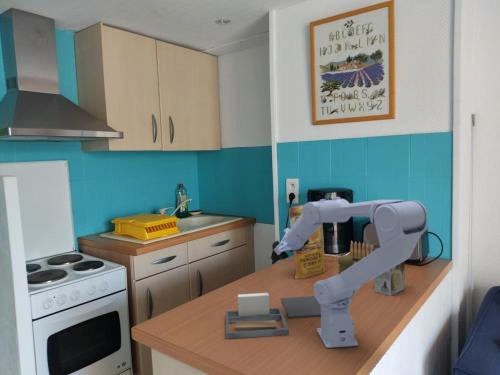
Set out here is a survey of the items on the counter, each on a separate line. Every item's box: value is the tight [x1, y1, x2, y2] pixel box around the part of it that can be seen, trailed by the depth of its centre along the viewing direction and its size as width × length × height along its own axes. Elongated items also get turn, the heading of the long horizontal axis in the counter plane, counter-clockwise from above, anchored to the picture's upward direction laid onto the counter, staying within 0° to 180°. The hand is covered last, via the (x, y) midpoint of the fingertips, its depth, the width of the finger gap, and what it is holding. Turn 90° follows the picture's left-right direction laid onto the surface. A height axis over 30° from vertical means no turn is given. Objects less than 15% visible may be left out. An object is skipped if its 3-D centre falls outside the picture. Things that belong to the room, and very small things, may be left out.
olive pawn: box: [337, 254, 353, 274], centre depth 127 cm, size 6×6×11 cm
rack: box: [225, 307, 290, 340], centre depth 99 cm, size 14×17×2 cm
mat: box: [280, 295, 321, 319], centre depth 110 cm, size 14×14×1 cm
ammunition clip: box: [349, 240, 374, 266], centre depth 143 cm, size 11×2×12 cm, turn 43°
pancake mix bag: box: [288, 204, 326, 280], centre depth 140 cm, size 7×19×28 cm, turn 125°
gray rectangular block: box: [237, 292, 270, 316], centre depth 104 cm, size 2×9×7 cm, turn 94°
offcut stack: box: [233, 320, 280, 332], centre depth 96 cm, size 4×12×2 cm, turn 89°
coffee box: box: [373, 243, 405, 297], centre depth 121 cm, size 9×6×16 cm
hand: (281, 254), depth 110 cm, fingers open, 7 cm apart
